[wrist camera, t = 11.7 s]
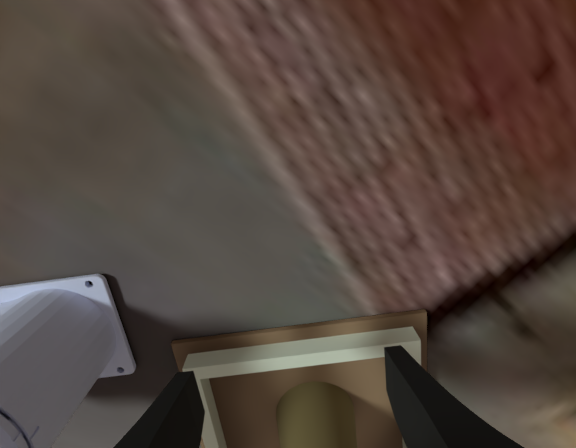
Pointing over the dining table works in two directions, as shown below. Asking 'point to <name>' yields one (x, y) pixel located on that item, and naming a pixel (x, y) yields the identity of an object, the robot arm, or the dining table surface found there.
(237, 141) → the dining table surface
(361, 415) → the board
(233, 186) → the dining table surface
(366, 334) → the walled square frame
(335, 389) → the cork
